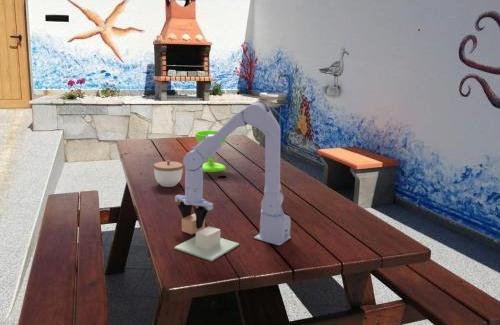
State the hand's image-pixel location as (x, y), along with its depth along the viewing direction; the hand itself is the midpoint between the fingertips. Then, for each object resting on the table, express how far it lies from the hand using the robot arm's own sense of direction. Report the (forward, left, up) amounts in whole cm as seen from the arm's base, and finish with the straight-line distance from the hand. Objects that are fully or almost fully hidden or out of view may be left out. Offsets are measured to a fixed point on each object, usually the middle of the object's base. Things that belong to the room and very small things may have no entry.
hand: (193, 225), depth 150 cm
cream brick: (-12, +8, -1) cm, 14 cm away
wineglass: (+46, -70, -2) cm, 84 cm away
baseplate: (-12, +8, -1) cm, 14 cm away
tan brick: (0, 0, -2) cm, 2 cm away
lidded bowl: (+42, -34, -2) cm, 54 cm away
